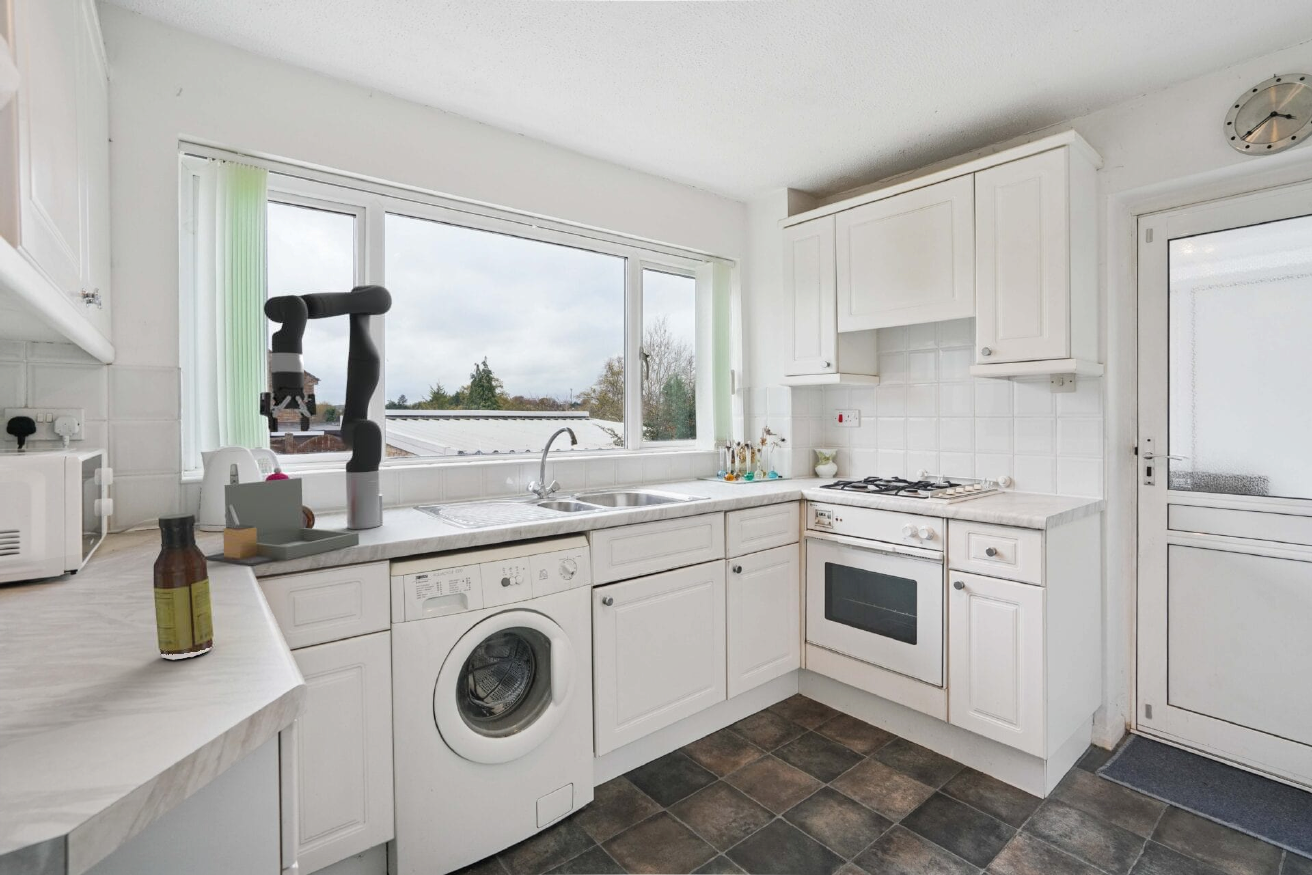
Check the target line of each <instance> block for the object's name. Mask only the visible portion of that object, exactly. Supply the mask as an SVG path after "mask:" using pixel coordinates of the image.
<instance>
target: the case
mask: <svg viewBox="0 0 1312 875" xmlns="http://www.w3.org/2000/svg"><path fill="white" fill-rule="evenodd" d="M302 478H303V477H296V478H295V477H294V478H289V479H283V480H272V481H265V480H263V481H254V482H242V483H233V484H231V483H230V484H225V485H224V510H225V511H224V512H225V528H226V527H227V526H233V525H250V526H254V527H256V531H257V555H259V556H267V557H275V558H277V560H283V561H290V560H294V559H298V558H303V557H308V556H312V555H316V554H321V553H326V552H330V550H331V551H333V550H332V549H335V550H340V549H344V548H347V547H346V546H349V547H354V546H358V545H359V544H360V540H359V536H360V535H359V533H360V532H350V531H340V530H330V529H320V528H312V529H311V528H303V507H302V506H303V479H302ZM301 540H303V541H304V540H305V541H308V542H303V543H296V544H292V545H282V544H285V543H291V542H296V541H301ZM312 540H313V541H312ZM357 544H358V545H357ZM343 547H344V548H343ZM339 548H340V549H339Z"/></svg>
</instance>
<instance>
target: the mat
mask: <svg viewBox="0 0 1312 875" xmlns="http://www.w3.org/2000/svg"><path fill="white" fill-rule="evenodd" d="M205 557H206V561H207V560H208V561H213V562H214V561H216V562H221V563H231V564H235V565H243V566H244V565H245V566H250V567H253V566H257V565H261V564H267V563H271V562H276V561H278V559H277V558H275V557H267V556H259V555H257V557H252V558H247V559H242V560H237V559H230V558H224V552H221V553H216V554H210V555H206V556H205Z"/></svg>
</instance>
